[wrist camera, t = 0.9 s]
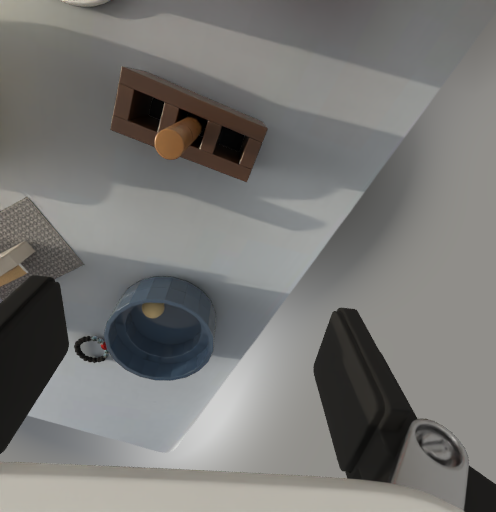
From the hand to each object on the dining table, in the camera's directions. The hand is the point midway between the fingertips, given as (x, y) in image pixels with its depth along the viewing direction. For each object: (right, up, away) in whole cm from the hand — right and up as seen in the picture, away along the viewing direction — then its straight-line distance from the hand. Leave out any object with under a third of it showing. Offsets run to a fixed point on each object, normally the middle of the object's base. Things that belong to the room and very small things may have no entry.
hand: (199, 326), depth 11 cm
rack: (-4, +18, +26) cm, 32 cm away
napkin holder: (-31, +3, +34) cm, 46 cm away
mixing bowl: (-11, -7, +39) cm, 41 cm away
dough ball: (-12, -4, +37) cm, 39 cm away
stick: (-4, +18, +26) cm, 32 cm away
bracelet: (-24, -13, +42) cm, 50 cm away
